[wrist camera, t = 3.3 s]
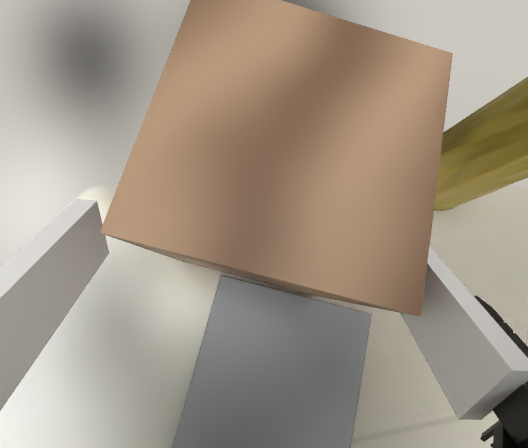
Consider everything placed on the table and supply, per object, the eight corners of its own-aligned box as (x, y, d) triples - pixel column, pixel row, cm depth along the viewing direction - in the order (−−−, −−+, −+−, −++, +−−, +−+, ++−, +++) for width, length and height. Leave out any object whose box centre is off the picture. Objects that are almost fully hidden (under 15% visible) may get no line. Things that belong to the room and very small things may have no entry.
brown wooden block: (336, 174, 24) (452, 53, 11) (311, 294, 22) (420, 316, 9) (219, 141, 23) (200, -25, 11) (181, 260, 21) (99, 232, 8)
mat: (369, 313, 22) (371, 314, 21) (340, 488, 19) (342, 493, 19) (221, 275, 21) (221, 275, 21) (171, 450, 19) (170, 453, 18)
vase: (392, 189, 24) (605, 66, 10) (417, 134, 26) (634, -40, 12) (453, 223, 24) (751, 146, 10) (475, 166, 25) (764, 29, 12)
